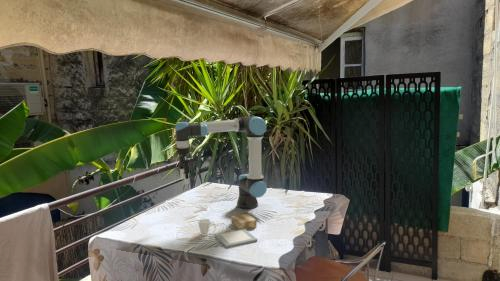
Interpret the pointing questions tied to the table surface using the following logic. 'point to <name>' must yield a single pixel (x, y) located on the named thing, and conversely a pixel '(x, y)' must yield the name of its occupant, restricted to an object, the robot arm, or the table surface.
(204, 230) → the cup
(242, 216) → the oak block
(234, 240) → the build board
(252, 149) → the robot arm
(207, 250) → the table surface
